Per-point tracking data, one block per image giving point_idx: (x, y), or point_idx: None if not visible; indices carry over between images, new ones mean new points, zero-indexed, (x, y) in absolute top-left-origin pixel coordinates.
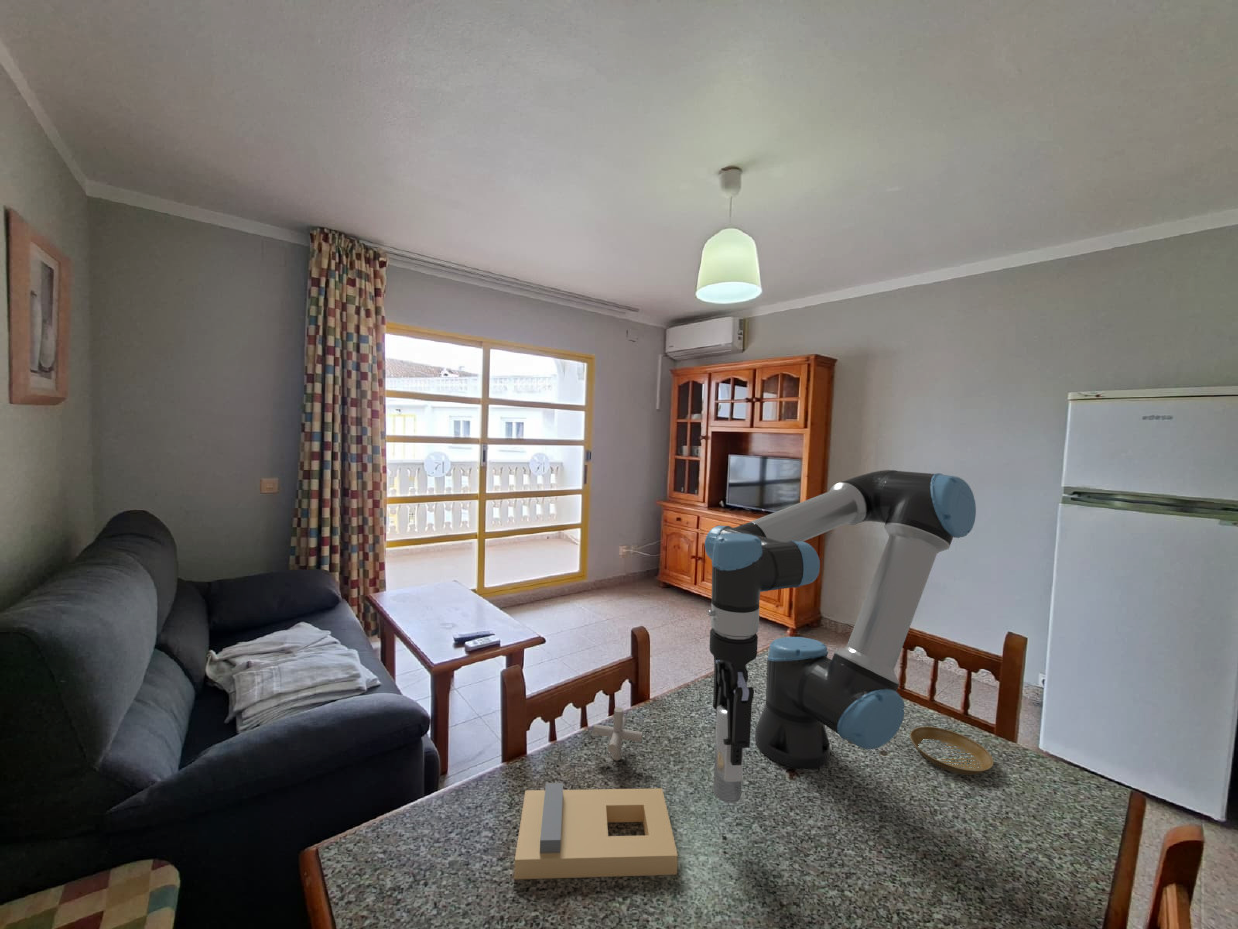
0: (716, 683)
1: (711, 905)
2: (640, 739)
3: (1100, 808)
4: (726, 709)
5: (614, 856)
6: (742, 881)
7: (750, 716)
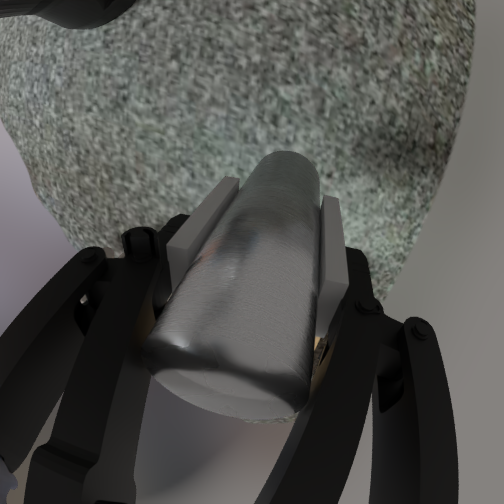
0: (55, 399)
1: (399, 239)
2: (112, 257)
3: None
4: (204, 391)
5: (319, 338)
6: (385, 178)
7: (456, 483)
